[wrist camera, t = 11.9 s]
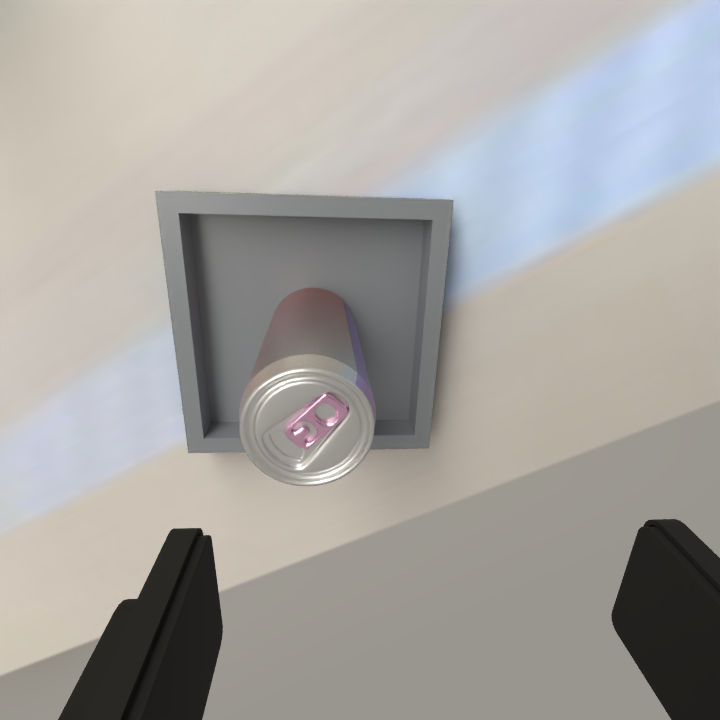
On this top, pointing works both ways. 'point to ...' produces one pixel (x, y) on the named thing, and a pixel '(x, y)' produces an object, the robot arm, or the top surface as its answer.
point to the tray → (298, 271)
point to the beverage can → (308, 393)
